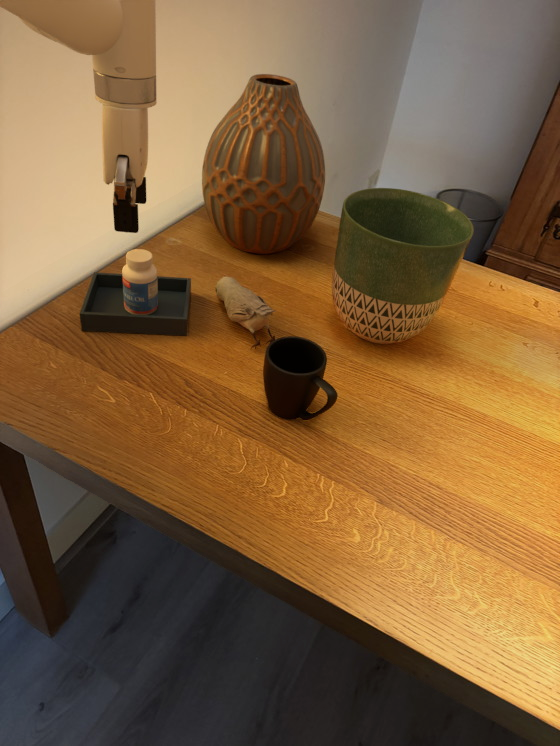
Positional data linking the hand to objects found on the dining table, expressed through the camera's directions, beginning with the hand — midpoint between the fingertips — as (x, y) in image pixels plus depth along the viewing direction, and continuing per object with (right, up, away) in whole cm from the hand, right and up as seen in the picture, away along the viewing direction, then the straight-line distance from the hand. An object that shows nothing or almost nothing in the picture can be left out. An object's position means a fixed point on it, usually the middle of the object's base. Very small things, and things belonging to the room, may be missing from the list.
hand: (131, 216), depth 79 cm
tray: (-2, -13, +11) cm, 17 cm away
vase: (+17, +5, +36) cm, 40 cm away
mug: (+24, -29, -3) cm, 37 cm away
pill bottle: (-1, -12, +11) cm, 16 cm away
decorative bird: (+15, -15, +12) cm, 24 cm away
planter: (+38, -16, +15) cm, 44 cm away
